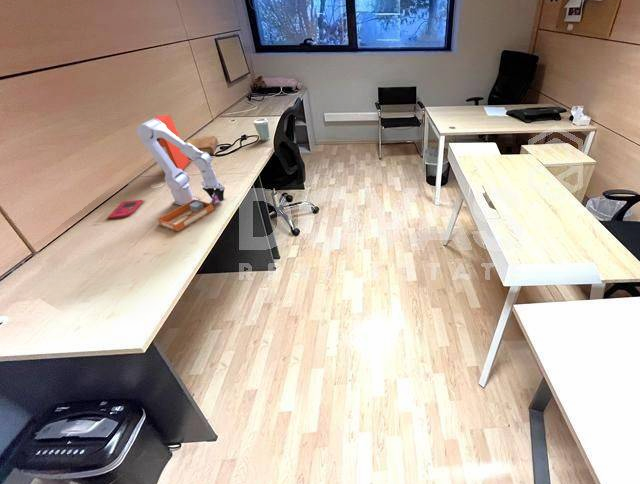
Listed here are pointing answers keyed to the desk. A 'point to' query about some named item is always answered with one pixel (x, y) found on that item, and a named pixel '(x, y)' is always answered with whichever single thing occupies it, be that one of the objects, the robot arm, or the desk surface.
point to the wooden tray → (182, 211)
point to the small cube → (196, 206)
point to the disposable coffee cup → (262, 128)
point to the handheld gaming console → (125, 209)
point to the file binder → (169, 148)
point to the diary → (204, 144)
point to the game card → (214, 198)
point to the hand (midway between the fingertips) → (217, 198)
